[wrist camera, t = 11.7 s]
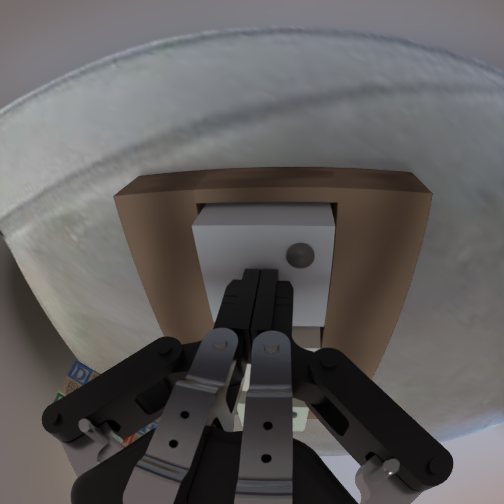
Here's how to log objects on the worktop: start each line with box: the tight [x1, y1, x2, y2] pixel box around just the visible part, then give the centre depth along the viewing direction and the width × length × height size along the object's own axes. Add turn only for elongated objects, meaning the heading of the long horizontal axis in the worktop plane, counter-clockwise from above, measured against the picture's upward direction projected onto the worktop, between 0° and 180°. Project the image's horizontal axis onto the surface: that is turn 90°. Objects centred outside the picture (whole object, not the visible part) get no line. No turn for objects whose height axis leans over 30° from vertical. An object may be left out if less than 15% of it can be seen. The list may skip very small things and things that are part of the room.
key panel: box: [113, 167, 433, 419], centre depth 20 cm, size 16×24×3 cm, turn 4°
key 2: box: [237, 391, 309, 431], centre depth 23 cm, size 6×6×3 cm
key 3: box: [192, 202, 335, 327], centre depth 15 cm, size 6×6×3 cm
